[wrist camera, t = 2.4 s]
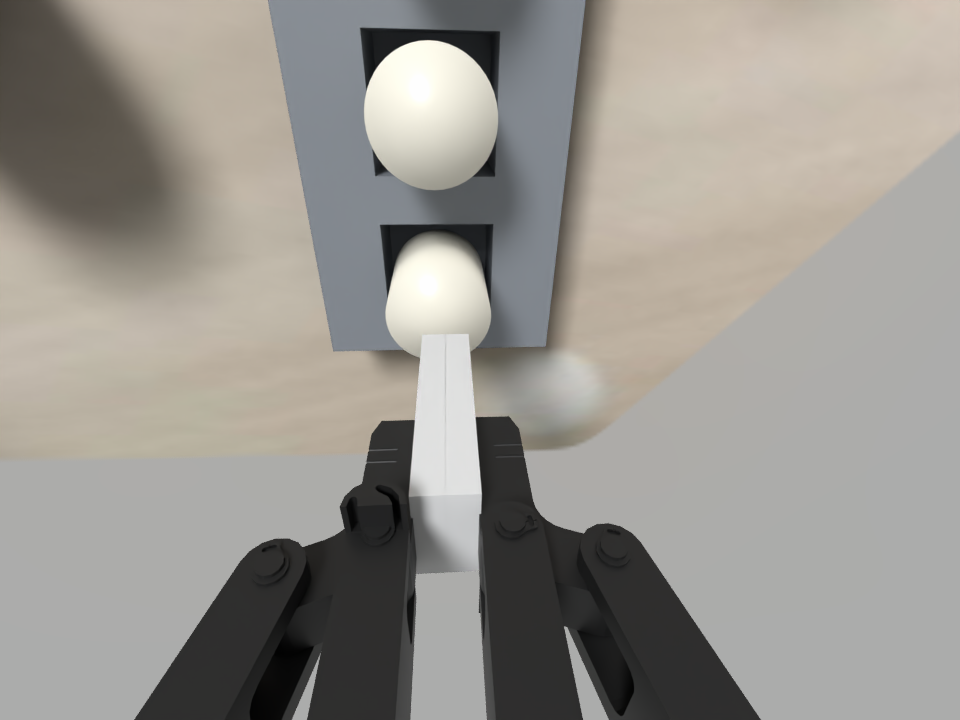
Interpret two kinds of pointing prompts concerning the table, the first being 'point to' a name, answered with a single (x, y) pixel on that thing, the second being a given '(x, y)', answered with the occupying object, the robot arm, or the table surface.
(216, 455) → the table surface
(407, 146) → the button
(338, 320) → the board
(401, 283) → the button
